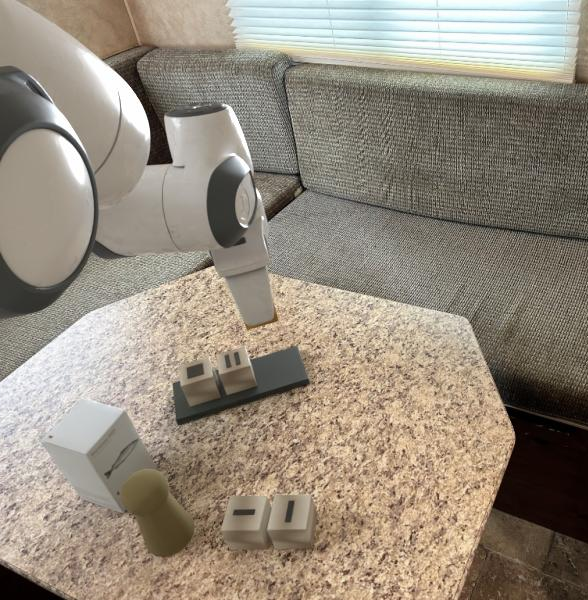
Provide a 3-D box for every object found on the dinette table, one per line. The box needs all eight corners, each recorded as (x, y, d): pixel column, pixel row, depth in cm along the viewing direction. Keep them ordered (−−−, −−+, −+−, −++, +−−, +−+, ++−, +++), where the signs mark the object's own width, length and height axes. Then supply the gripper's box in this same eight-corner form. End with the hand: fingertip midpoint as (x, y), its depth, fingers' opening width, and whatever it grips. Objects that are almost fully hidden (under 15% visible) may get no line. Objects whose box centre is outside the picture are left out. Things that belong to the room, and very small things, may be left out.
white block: (317, 514, 76) (311, 493, 73) (312, 549, 72) (305, 528, 70) (281, 514, 76) (274, 494, 73) (274, 549, 73) (266, 529, 70)
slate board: (298, 350, 99) (297, 345, 99) (310, 383, 93) (308, 378, 93) (174, 387, 95) (172, 382, 94) (178, 425, 89) (175, 419, 88)
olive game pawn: (155, 512, 78) (124, 460, 71) (201, 511, 78) (174, 459, 71) (138, 557, 73) (103, 507, 66) (187, 556, 73) (156, 506, 66)
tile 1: (217, 376, 94) (209, 355, 92) (220, 397, 91) (212, 376, 88) (187, 385, 94) (178, 364, 91) (189, 406, 90) (180, 385, 87)
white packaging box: (124, 515, 78) (84, 455, 70) (80, 499, 80) (36, 440, 72) (160, 469, 83) (126, 408, 75) (118, 455, 86) (81, 395, 78)
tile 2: (252, 366, 96) (245, 345, 93) (257, 386, 92) (250, 365, 89) (223, 375, 95) (215, 354, 92) (227, 395, 91) (218, 374, 88)
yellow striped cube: (272, 302, 90) (265, 278, 87) (278, 321, 86) (271, 296, 83) (242, 311, 89) (234, 286, 86) (246, 330, 85) (238, 305, 82)
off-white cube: (274, 515, 76) (266, 494, 74) (267, 549, 73) (258, 529, 70) (239, 515, 77) (229, 495, 74) (230, 550, 73) (220, 530, 70)
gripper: (200, 195, 85) (225, 274, 94) (217, 275, 70) (246, 360, 78) (244, 184, 86) (266, 263, 95) (271, 261, 71) (293, 346, 80)
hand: (257, 308), depth 87 cm, fingers closed on yellow striped cube, 4 cm apart
